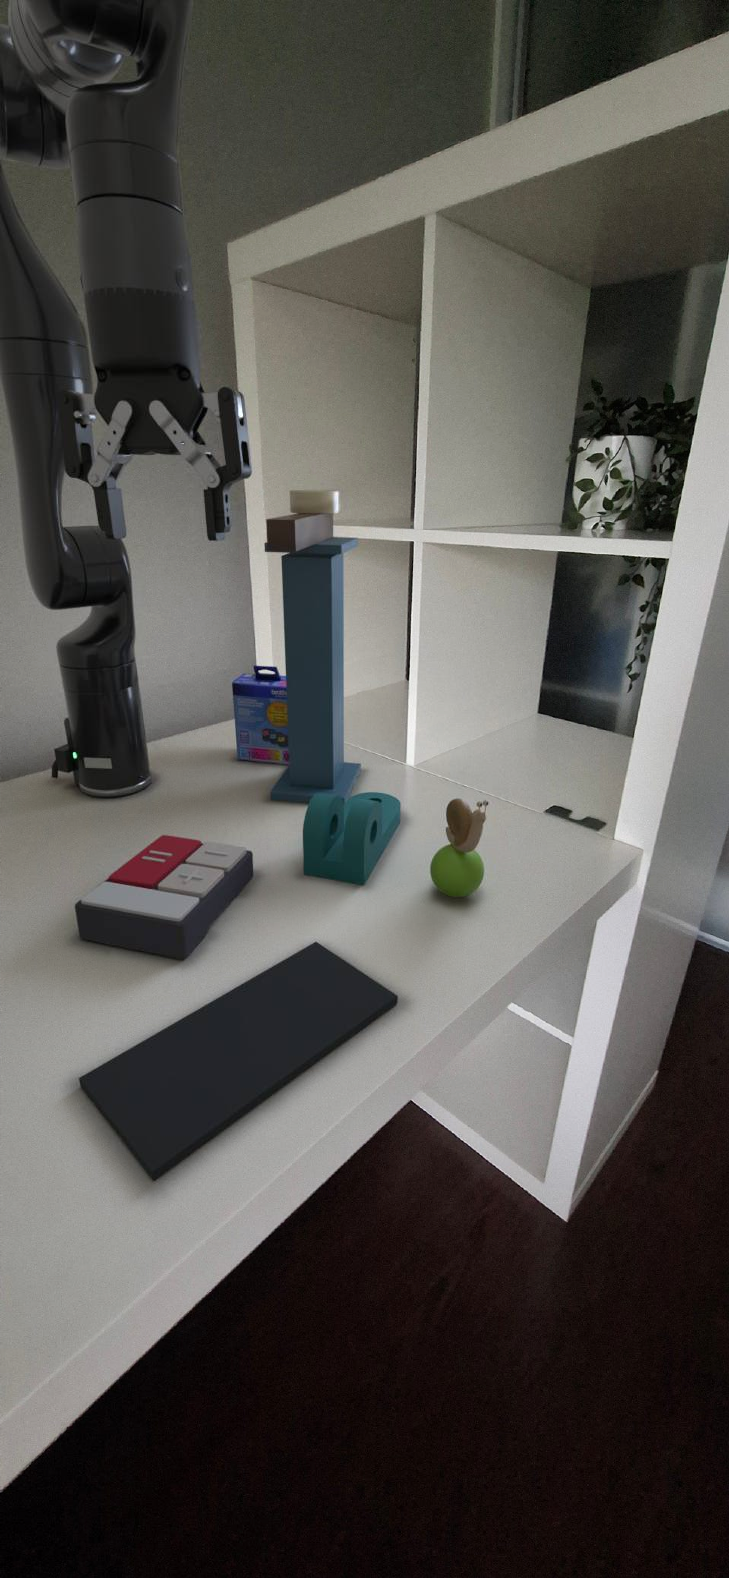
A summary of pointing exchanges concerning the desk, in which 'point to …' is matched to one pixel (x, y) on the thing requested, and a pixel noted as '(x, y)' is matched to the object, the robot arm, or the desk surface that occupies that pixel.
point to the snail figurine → (460, 851)
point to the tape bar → (304, 520)
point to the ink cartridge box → (261, 716)
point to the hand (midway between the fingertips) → (165, 539)
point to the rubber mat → (232, 1054)
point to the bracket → (347, 834)
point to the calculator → (165, 896)
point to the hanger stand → (315, 673)
